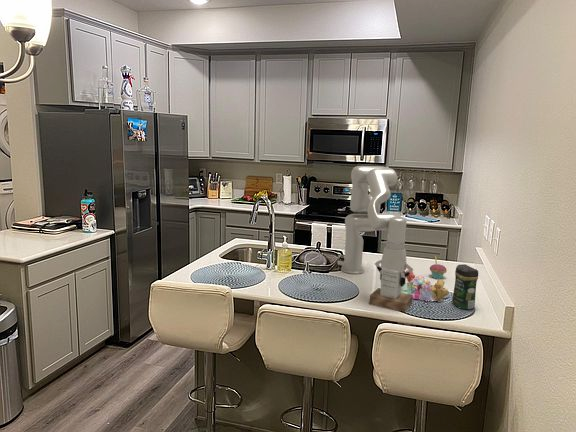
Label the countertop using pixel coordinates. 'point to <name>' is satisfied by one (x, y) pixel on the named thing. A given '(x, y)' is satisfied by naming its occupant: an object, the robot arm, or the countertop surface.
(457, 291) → the coffee jar
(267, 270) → the countertop surface
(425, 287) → the candy landscape model
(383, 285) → the supplement box
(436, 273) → the cupcake
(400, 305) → the walnut base
